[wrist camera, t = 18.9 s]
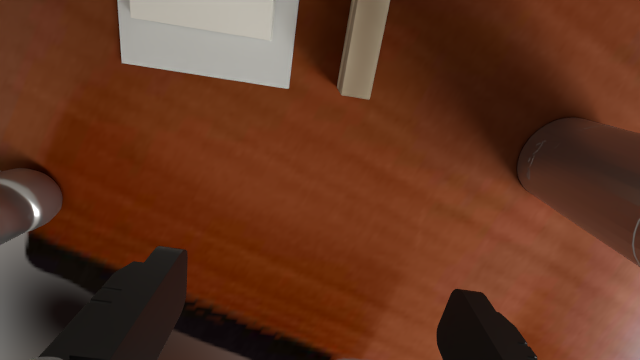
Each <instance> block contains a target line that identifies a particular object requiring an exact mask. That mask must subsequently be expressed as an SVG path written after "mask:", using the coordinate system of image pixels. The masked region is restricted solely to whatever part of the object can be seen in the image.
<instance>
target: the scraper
mask: <svg viewBox="0 0 640 360" xmlns="http://www.w3.org/2000/svg"><path fill="white" fill-rule="evenodd" d="M389 4H390V0H351V6H350V12H349V18H348V24H347V30H346V36H345V42H344V48H343V54H342V60H341V66H340V71H339V77H338V83H337V88H338V90H339V92H340V94H341V95H344V96H350V97H357V98H363V99H369V100H370V95H371V90H372V86H373V81H374V76H375V71H376V66H377V62H378V57H379V52H380V47H381V42H382V38H383V33H384V28H385V23H386V18H387V14H388V9H389Z"/></svg>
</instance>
